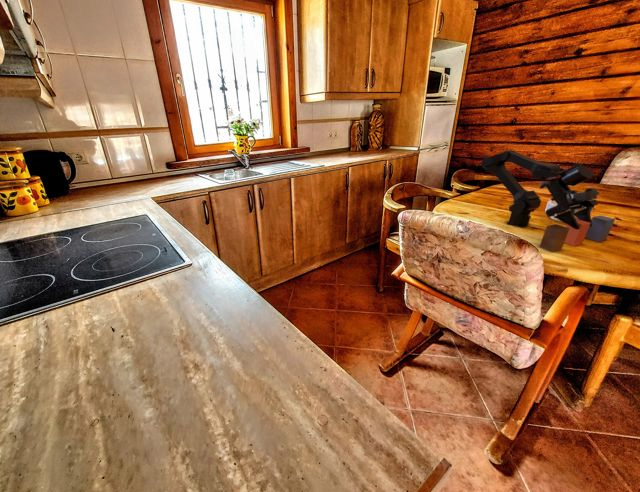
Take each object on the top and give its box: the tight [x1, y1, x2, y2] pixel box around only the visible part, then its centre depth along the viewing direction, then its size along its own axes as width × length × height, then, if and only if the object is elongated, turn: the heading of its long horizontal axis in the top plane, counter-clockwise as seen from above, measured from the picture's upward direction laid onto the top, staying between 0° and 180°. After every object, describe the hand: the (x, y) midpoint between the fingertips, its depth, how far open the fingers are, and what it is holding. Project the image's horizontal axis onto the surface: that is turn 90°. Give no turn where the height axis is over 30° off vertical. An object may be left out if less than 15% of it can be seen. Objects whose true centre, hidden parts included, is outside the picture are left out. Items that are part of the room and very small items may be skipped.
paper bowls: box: [544, 199, 594, 223], centre depth 128 cm, size 15×15×8 cm
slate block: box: [584, 215, 616, 243], centre depth 109 cm, size 4×4×9 cm
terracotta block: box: [564, 219, 591, 247], centre depth 107 cm, size 4×4×9 cm
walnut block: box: [539, 223, 570, 253], centre depth 104 cm, size 4×4×9 cm
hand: (584, 227), depth 104 cm, fingers open, 6 cm apart
